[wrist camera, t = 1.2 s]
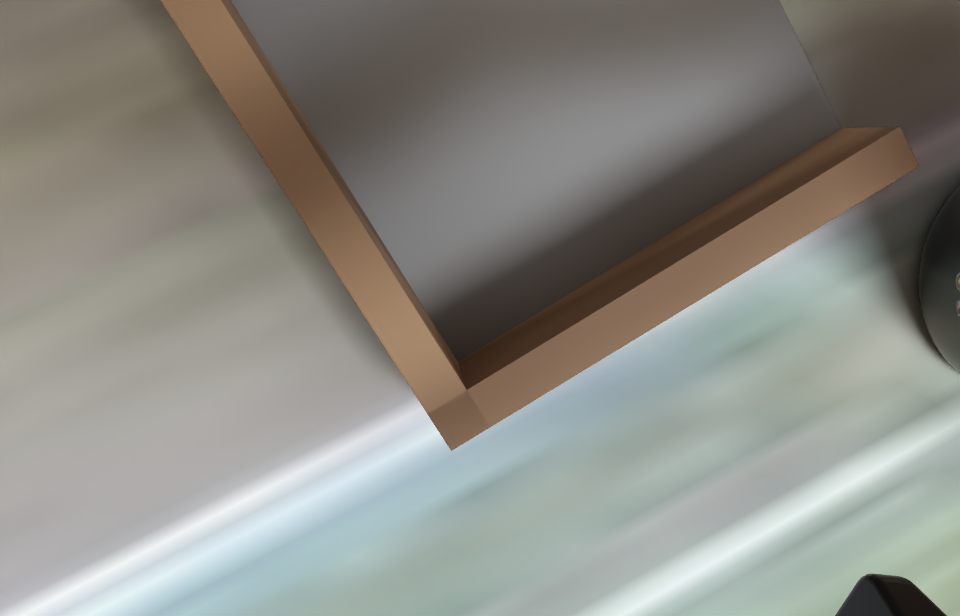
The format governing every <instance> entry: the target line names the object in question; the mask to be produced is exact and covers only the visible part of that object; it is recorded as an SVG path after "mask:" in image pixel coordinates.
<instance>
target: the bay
mask: <svg viewBox="0 0 960 616" xmlns="http://www.w3.org/2000/svg"><path fill="white" fill-rule="evenodd" d="M161 2H162V3H163V5H164V7H165V8H166V10H167V11H168V13H169V14H170V16H171V17H172V19H173V20H174V22H175V24H176V25H177V27H178V28H179V30H180V31H181V33H182V34H183V36H184V38H185V39H186V41H187V42H188V44H189V45H190V47H191V48H192V50H193V51H194V53H195V55H196V56H197V58H198V59H199V61H200V62H201V64H202V65H203V67H204V69H205V70H206V72H207V73H208V75H209V76H210V78H211V79H212V81H213V82H214V84H215V86H216V87H217V89H218V90H219V92H220V93H221V95H222V96H223V98H224V99H225V101H226V103H227V104H228V106H229V107H230V109H231V110H232V112H233V113H234V115H235V117H236V118H237V120H238V121H239V123H240V124H241V126H242V127H243V129H244V130H245V132H246V134H247V135H248V137H249V138H250V140H251V141H252V143H253V144H254V146H255V147H256V149H257V151H258V152H259V154H260V155H261V157H262V158H263V160H264V161H265V163H266V165H267V166H268V168H269V169H270V171H271V172H272V174H273V175H274V177H275V178H276V180H277V182H278V183H279V185H280V186H281V188H282V189H283V191H284V192H285V194H286V196H287V197H288V199H289V200H290V202H291V203H292V205H293V206H294V208H295V209H296V211H297V213H298V214H299V216H300V217H301V219H302V220H303V222H304V223H305V225H306V226H307V228H308V230H309V231H310V233H311V234H312V236H313V237H314V239H315V240H316V242H317V244H318V245H319V247H320V248H321V250H322V251H323V253H324V254H325V256H326V257H327V259H328V261H329V262H330V264H331V265H332V267H333V268H334V270H335V271H336V273H337V274H338V276H339V278H340V279H341V281H342V282H343V284H344V285H345V287H346V288H347V290H348V292H349V293H350V295H351V296H352V298H353V299H354V301H355V302H356V304H357V305H358V307H359V309H360V310H361V312H362V313H363V315H364V316H365V318H366V319H367V321H368V323H369V324H370V326H371V327H372V329H373V330H374V332H375V333H376V335H377V336H378V338H379V340H380V341H381V343H382V344H383V346H384V347H385V349H386V350H387V352H388V353H389V355H390V357H391V358H392V360H393V361H394V363H395V364H396V366H397V367H398V369H399V371H400V372H401V374H402V375H403V377H404V378H405V380H406V381H407V383H408V384H409V386H410V388H411V389H412V391H413V392H414V394H415V395H416V397H417V398H418V400H419V401H420V403H421V405H422V406H423V408H424V409H425V411H426V412H427V414H428V415H429V417H430V419H431V420H432V422H433V423H434V425H435V426H436V428H437V429H438V431H439V432H440V434H441V436H442V437H443V439H444V440H445V442H446V443H447V445H448V446H449V448H450V449H451V451H452V450H453V449H455V448H457V447H458V446H460V445H462V444H463V443H465V442H467V441H468V440H470V439H472V438H473V437H475V436H476V435H478V434H480V433H481V432H483V431H485V430H486V429H488V428H490V427H491V426H493V425H495V424H496V423H498V422H499V421H501V420H503V419H504V418H506V417H508V416H509V415H511V414H513V413H514V412H516V411H518V410H519V409H521V408H523V407H524V406H526V405H527V404H529V403H531V402H532V401H534V400H536V399H537V398H539V397H541V396H542V395H544V394H546V393H547V392H549V391H550V390H552V389H554V388H555V387H557V386H559V385H560V384H562V383H564V382H565V381H567V380H569V379H570V378H572V377H573V376H575V375H577V374H578V373H580V372H582V371H583V370H585V369H587V368H588V367H590V366H592V365H593V364H595V363H597V362H598V361H600V360H601V359H603V358H605V357H606V356H608V355H610V354H611V353H613V352H615V351H616V350H618V349H620V348H621V347H623V346H624V345H626V344H628V343H629V342H631V341H633V340H634V339H636V338H638V337H639V336H641V335H643V334H644V333H646V332H647V331H649V330H651V329H652V328H654V327H656V326H657V325H659V324H661V323H662V322H664V321H666V320H667V319H669V318H671V317H672V316H674V315H675V314H677V313H679V312H680V311H682V310H684V309H685V308H687V307H689V306H690V305H692V304H694V303H695V302H697V301H698V300H700V299H702V298H703V297H705V296H707V295H708V294H710V293H712V292H713V291H715V290H717V289H718V288H720V287H721V286H723V285H725V284H726V283H728V282H730V281H731V280H733V279H735V278H736V277H738V276H740V275H741V274H743V273H745V272H746V271H748V270H749V269H751V268H753V267H754V266H756V265H758V264H759V263H761V262H763V261H764V260H766V259H768V258H769V257H771V256H772V255H774V254H776V253H777V252H779V251H781V250H782V249H784V248H786V247H787V246H789V245H791V244H792V243H794V242H795V241H797V240H799V239H800V238H802V237H804V236H805V235H807V234H809V233H810V232H812V231H814V230H815V229H817V228H819V227H820V226H822V225H823V224H825V223H827V222H828V221H830V220H832V219H833V218H835V217H837V216H838V215H840V214H842V213H843V212H845V211H846V210H848V209H850V208H851V207H853V206H855V205H856V204H858V203H860V202H861V201H863V200H865V199H866V198H868V197H869V196H871V195H873V194H874V193H876V192H878V191H879V190H881V189H883V188H884V187H886V186H888V185H889V184H891V183H893V182H894V181H896V180H897V179H899V178H901V177H902V176H904V175H906V174H907V173H909V172H911V171H912V170H914V169H916V168H917V167H919V165H918V163H917V161H916V159H915V157H914V155H913V153H912V150H911V148H910V146H909V144H908V142H907V140H906V138H905V136H904V134H903V131H902V129H901V127H900V126H895V127H858V128H841V126H840V124H839V122H838V120H837V118H836V116H835V114H834V112H833V110H832V108H831V106H830V104H829V102H828V99H827V97H826V95H825V93H824V91H823V89H822V87H821V85H820V83H819V81H818V79H817V77H816V75H815V73H814V71H813V69H812V67H811V65H810V63H809V61H808V59H807V57H806V55H805V53H804V51H803V49H802V46H801V44H800V42H799V40H798V38H797V36H796V34H795V32H794V30H793V28H792V26H791V24H790V22H789V20H788V18H787V16H786V14H785V12H784V10H783V8H782V6H781V4H780V2H779V0H161Z"/></svg>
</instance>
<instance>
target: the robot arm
mask: <svg viewBox="0 0 960 616" xmlns="http://www.w3.org/2000/svg"><path fill="white" fill-rule="evenodd" d="M835 616H947V615H946V614H944V613H943V612H942V611H941V610H940V609H939V608H938V607H937V606H936V605H935V604H934V603H933V602H932V601H931V600H930V599H929V598H928V597H927V596H926V595H925V594H924V593H923V592H922V591H921V590H920V589H919V588H918V587H917V586H915V585H914V584H913V583H912V582H911V581H909V580H907V579H905V578H903V577H899V576H891V575H881V574H867V575H865V576H863V577H862V578H861V579H860V580H859V581H858V582H857V584H856V585H855V587H854V588H853V590H852V591H851V593H850V594H849V596H848V597H847V599H846V600H845V602H844V603H843V605H842V606H841V608H840V609H839V611H838V612H837V614H836V615H835Z"/></svg>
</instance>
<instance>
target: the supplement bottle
mask: <svg viewBox="0 0 960 616" xmlns="http://www.w3.org/2000/svg"><path fill="white" fill-rule="evenodd" d="M919 295H920V304H921V308H922V313H923V317H924V321H925V324H926V327H927V329H928V332H929V334H930V336H931V338H932V340H933V342H934V344H935V346H936V347H937V349H938V350H939V352H940V353H941V354H942V356H943V357H944V358H945V360H946V361H947V362H948V363H949V364H950V365H951V366H952V367H953V368H954V369H955V370H956V371H957V372H958V373H959V374H960V186H959V187H958V188H957V189H956V190H955V191H954V192H953V194H952V195H951V196H950V197H949V199H948V200H947V201H946V203H945V204H944V206H943V207H942V209H941V210H940V212H939V214H938V215H937V217H936V219H935V221H934V223H933V225H932V227H931V229H930V232H929V234H928V237H927V239H926V242H925V246H924V249H923V253H922V258H921V264H920V272H919Z"/></svg>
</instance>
